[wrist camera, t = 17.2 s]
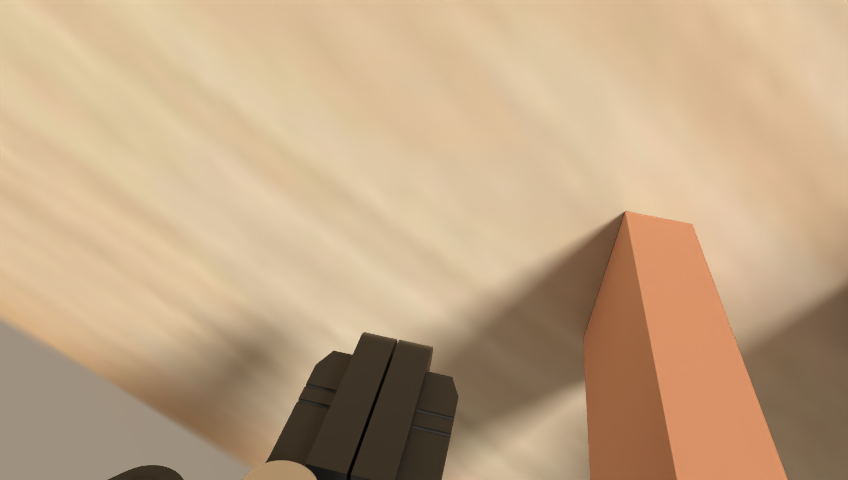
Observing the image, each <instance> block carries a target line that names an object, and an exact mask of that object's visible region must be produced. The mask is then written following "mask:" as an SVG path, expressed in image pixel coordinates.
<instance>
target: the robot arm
mask: <svg viewBox="0 0 848 480" xmlns="http://www.w3.org/2000/svg"><path fill="white" fill-rule="evenodd" d="M432 353H433V347H430V346H425V345H420V344H416V343H411V342H407V341H402V340H399V342H398V344H397V339H393V338H388V337H383V336H379V335H374V334H370V333H365V332H364V333H363V334H362V335H361V337H360V340H359V342H358V344H357V347H356V349H355V351H354V353H353V355H350V354H346V353H342V352H337V351H333V352H331V353H330V354H329V355H328V356H326V357H325V358H324V359H323V360H321V361H320V362H319V363H317V364H316V366H315V368H314V369H313V371H312V373H311V375H310V377H309V379H308V381H307V384H306V387H304V389H303V391H302V393H301V395H300V397H299V401H298V402H297V403H296V405H295V407H294V409H293V411H292V413H291V415H290V417H289V419H288V421H287V423H286V425H285V427H284V429H283V431H282V433H281V435H280V437H279V439H278V441H277V443H276V445H275V447H274V448H273V450H272V452H271V454H270V456H269V458H268V460H267V461H266V463H264V464H261V465H259V466H258V467H256V468H254V469H253V470H251V471H250V472H249V473H248V474H247V475H246V476H245V477H244V478H243V479H242V480H442V475H443V470H444V465H445V460H446V455H447V451H448V446H449V441H450V436H451V431H452V426H453V421H454V416H455V411H456V406H457V401H458V394H457V391H456V388H455V385H454V382H453V379H452V377H449V376H445V375H440V374H436V373H431V372H429V371H430V365H431V359H432ZM109 480H183V478H182V477H181V476H180V475H179V474H178V473H177V472H176V471H174V470H172V469H170V468H167V467H164V466H157V465H148V466H141V467H137V468H133V469H131V470H128V471H126V472H124V473H121V474H119V475H117V476H115V477H113V478H111V479H109Z"/></svg>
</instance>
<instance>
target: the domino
mask: <svg viewBox="0 0 848 480" xmlns="http://www.w3.org/2000/svg"><path fill="white" fill-rule="evenodd" d="M583 344H584V364H585V383H586V403H587V422H588V442H589V461H590V480H788V479H787V477H786V474H785V471H784V468H783V466H782V463H781V460H780V458H779V455H778V452H777V450H776V447H775V444H774V442H773V439H772V436H771V434H770V431H769V428H768V426H767V423H766V420H765V418H764V415H763V412H762V410H761V407H760V404H759V402H758V399H757V396H756V394H755V391H754V388H753V385H752V383H751V380H750V377H749V375H748V372H747V369H746V367H745V364H744V361H743V359H742V356H741V353H740V351H739V348H738V345H737V343H736V340H735V337H734V335H733V332H732V329H731V327H730V324H729V321H728V319H727V316H726V313H725V311H724V308H723V305H722V302H721V300H720V297H719V294H718V292H717V289H716V286H715V284H714V281H713V278H712V276H711V273H710V270H709V268H708V265H707V262H706V260H705V257H704V254H703V252H702V249H701V246H700V244H699V241H698V238H697V236H696V233H695V230H694V228H693V225H692V224H687V223H682V222H677V221H672V220H667V219H662V218H657V217H652V216H647V215H641V214H636V213H631V212H626V211H625V214H624V217H623V220H622V223H621V226H620V229H619V232H618V235H617V238H616V241H615V244H614V247H613V250H612V253H611V256H610V259H609V262H608V265H607V268H606V271H605V275H604V278H603V281H602V284H601V287H600V290H599V293H598V296H597V299H596V302H595V305H594V308H593V311H592V314H591V317H590V320H589V323H588V326H587V329H586V332H585V335H584V338H583Z"/></svg>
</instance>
